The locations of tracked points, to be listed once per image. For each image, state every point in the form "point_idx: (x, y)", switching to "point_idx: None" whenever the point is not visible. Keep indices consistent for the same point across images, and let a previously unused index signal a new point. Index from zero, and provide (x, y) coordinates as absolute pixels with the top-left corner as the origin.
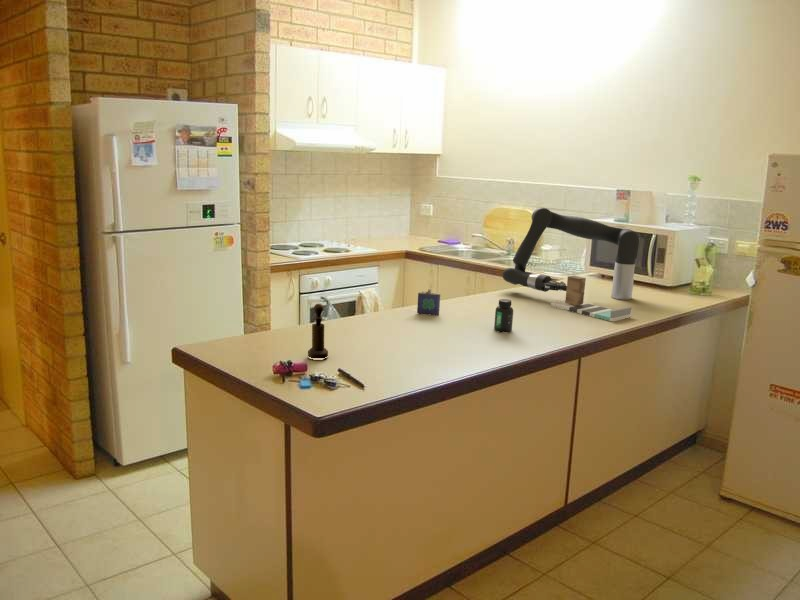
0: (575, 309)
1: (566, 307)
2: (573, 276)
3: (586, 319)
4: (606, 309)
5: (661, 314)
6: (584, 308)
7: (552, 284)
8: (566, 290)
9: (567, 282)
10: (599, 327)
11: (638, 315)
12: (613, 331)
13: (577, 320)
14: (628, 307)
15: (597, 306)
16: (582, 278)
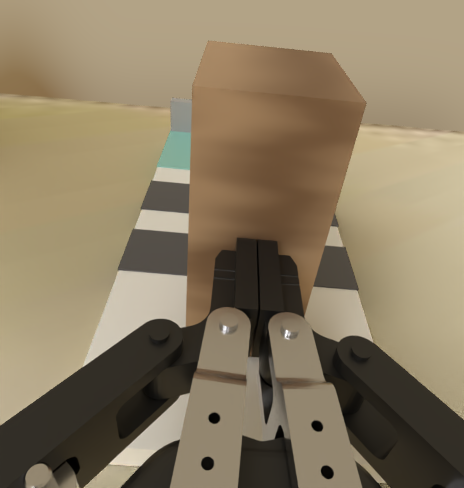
0: (346, 258)
1: (362, 313)
2: (275, 82)
3: (389, 202)
4: (179, 181)
5: (13, 109)
6: None
7: (424, 434)
8: (317, 269)
9: (340, 183)
10: (420, 156)
11: (105, 136)
12: (404, 132)
13: (448, 214)
14: (187, 100)
15: (147, 219)
16: (270, 47)
